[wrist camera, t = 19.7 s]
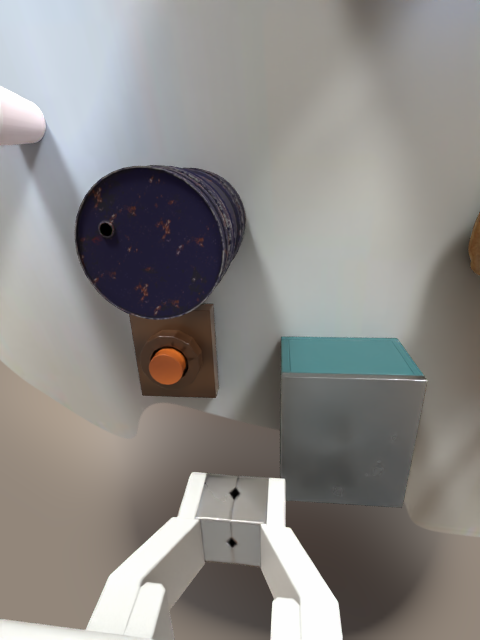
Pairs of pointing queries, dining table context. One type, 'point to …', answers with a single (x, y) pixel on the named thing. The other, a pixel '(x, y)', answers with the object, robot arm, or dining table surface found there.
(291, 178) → the dining table surface
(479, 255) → the stone cup
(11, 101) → the smoothie
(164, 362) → the button
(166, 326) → the button block
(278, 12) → the dining table surface
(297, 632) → the robot arm
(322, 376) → the lid
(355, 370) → the tea tin
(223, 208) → the oil barrel
